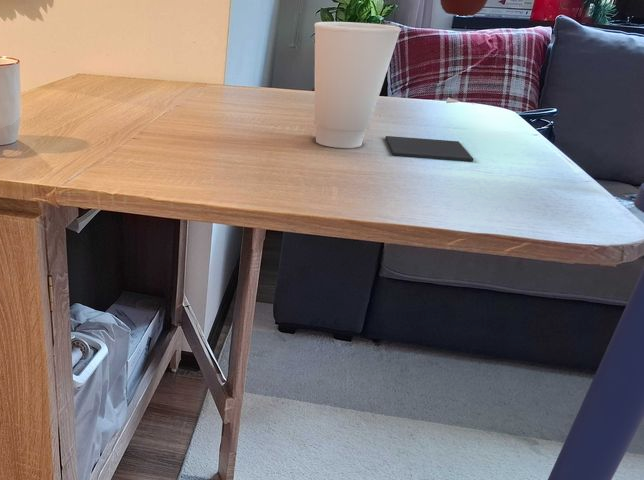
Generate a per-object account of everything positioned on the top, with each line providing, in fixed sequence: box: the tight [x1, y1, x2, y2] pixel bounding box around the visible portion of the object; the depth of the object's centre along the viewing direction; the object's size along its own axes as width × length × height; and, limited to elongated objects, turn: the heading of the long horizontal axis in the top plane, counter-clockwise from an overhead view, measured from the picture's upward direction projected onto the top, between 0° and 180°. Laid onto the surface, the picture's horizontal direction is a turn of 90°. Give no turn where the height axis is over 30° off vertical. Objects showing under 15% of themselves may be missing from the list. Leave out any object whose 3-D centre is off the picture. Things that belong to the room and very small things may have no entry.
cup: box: [313, 21, 402, 149], centre depth 92 cm, size 12×12×16 cm
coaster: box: [385, 135, 474, 162], centre depth 94 cm, size 11×11×1 cm
